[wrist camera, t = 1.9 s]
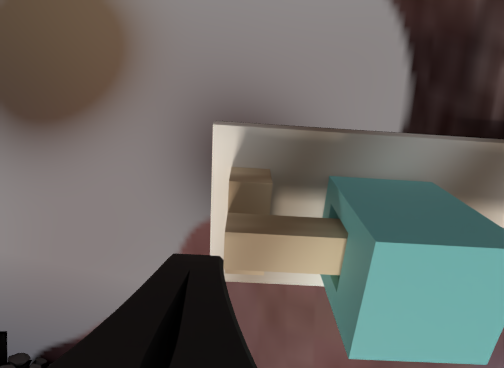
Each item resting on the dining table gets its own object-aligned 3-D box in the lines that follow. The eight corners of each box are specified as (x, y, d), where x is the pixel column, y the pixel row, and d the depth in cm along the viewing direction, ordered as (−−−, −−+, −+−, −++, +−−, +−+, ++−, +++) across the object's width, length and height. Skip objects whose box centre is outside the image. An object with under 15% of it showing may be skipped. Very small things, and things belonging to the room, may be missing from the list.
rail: (722, 153, 13) (1092, 223, 7) (639, 291, 16) (867, 424, 10) (215, 120, 13) (186, 170, 7) (211, 269, 15) (187, 399, 9)
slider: (432, 182, 12) (537, 250, 8) (408, 265, 14) (486, 365, 9) (329, 175, 12) (375, 242, 8) (315, 260, 14) (348, 358, 9)
